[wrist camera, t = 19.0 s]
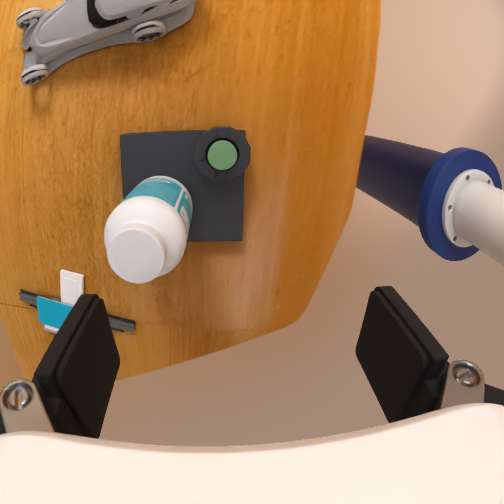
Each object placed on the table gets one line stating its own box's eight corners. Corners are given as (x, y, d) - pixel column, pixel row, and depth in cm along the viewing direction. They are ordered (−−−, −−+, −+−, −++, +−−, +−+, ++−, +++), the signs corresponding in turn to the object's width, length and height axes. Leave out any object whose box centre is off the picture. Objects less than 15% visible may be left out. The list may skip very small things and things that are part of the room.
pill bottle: (118, 205, 34) (73, 255, 22) (161, 160, 32) (129, 188, 20) (163, 248, 37) (141, 313, 25) (207, 206, 35) (202, 258, 23)
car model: (21, 22, 22) (1, 15, 18) (198, -45, 23) (197, -63, 19) (28, 91, 27) (6, 91, 23) (213, 26, 28) (212, 13, 23)
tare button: (236, 140, 31) (237, 141, 30) (235, 167, 33) (236, 170, 31) (208, 140, 31) (207, 141, 30) (207, 167, 32) (207, 170, 31)
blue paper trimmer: (138, 287, 40) (136, 294, 39) (132, 350, 45) (131, 357, 43) (17, 256, 36) (12, 261, 35) (24, 319, 40) (20, 325, 39)
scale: (248, 126, 33) (251, 127, 31) (244, 236, 39) (247, 246, 36) (123, 130, 32) (115, 132, 29) (130, 238, 37) (124, 248, 35)
